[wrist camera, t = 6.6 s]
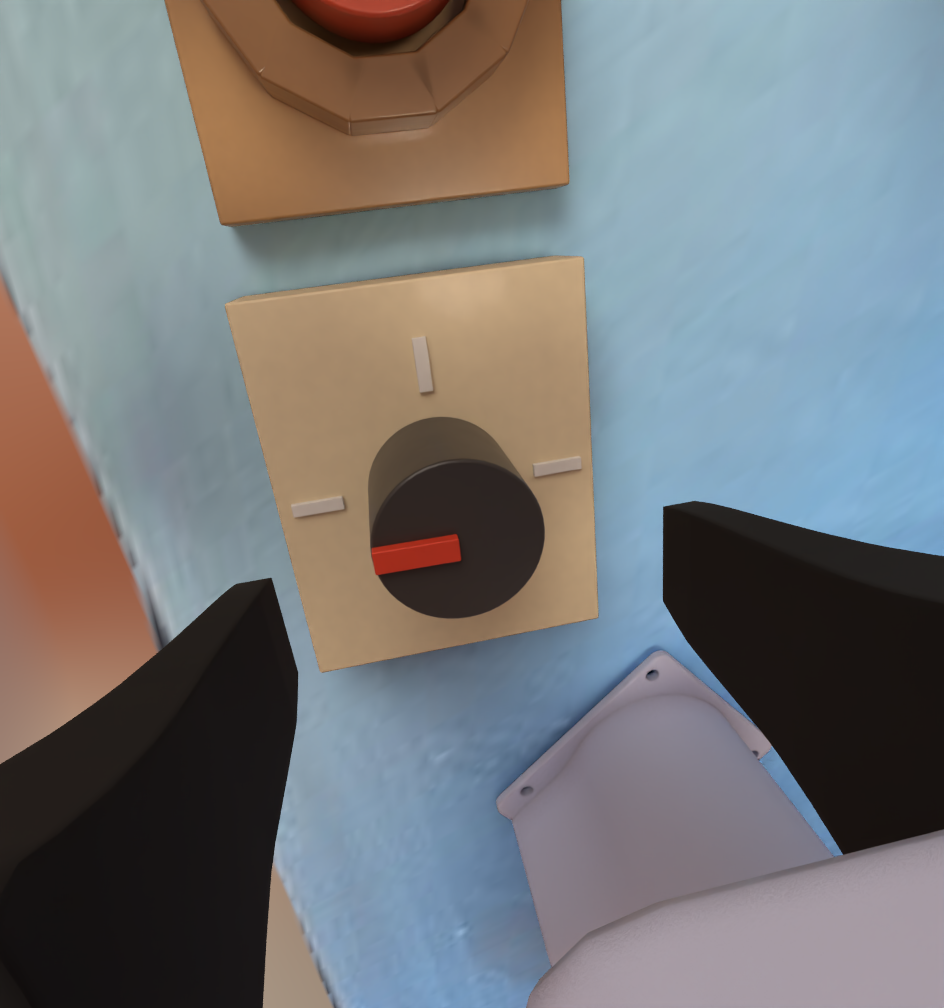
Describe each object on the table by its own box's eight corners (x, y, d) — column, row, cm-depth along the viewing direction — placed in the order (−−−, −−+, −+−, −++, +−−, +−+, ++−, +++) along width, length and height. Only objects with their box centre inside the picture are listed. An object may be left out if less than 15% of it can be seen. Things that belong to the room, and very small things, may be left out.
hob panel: (574, 581, 22) (601, 621, 20) (324, 628, 22) (319, 677, 19) (556, 255, 18) (586, 256, 16) (241, 296, 17) (221, 304, 15)
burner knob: (503, 406, 17) (544, 450, 13) (514, 537, 19) (554, 610, 15) (356, 427, 17) (355, 479, 13) (380, 560, 18) (386, 641, 14)
